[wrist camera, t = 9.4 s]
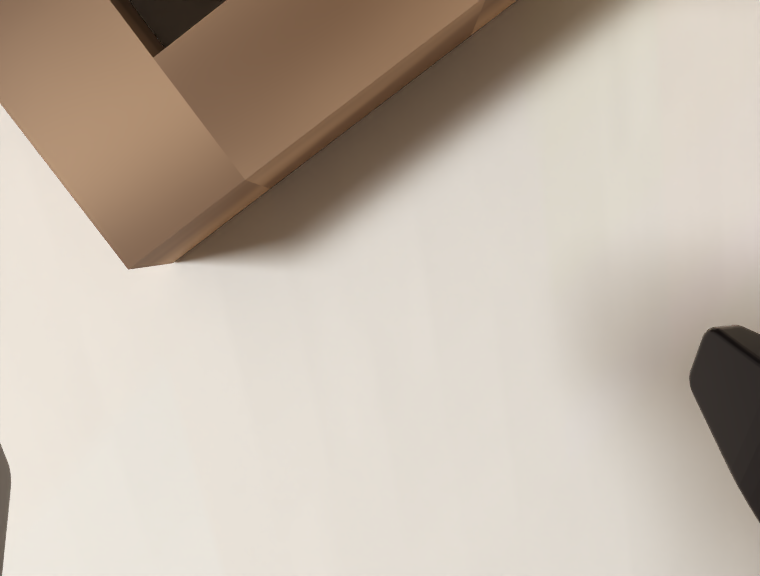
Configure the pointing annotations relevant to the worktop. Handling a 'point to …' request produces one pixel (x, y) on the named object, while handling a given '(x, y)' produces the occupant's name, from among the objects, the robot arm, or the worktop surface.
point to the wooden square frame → (205, 100)
